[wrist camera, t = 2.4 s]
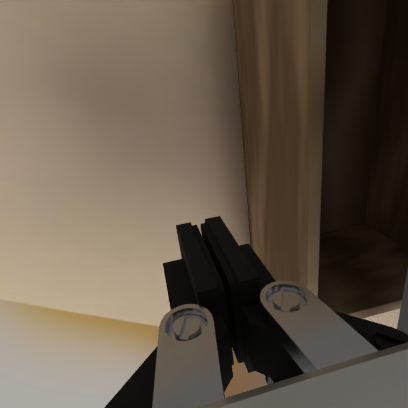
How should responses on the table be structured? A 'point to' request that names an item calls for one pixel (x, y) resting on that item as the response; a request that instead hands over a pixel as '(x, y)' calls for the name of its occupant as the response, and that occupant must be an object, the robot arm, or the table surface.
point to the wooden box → (327, 145)
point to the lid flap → (404, 310)
